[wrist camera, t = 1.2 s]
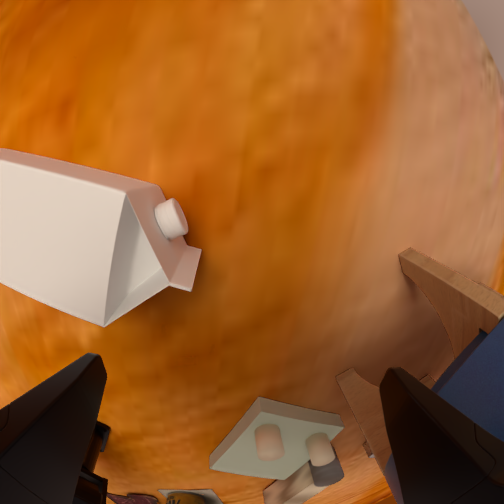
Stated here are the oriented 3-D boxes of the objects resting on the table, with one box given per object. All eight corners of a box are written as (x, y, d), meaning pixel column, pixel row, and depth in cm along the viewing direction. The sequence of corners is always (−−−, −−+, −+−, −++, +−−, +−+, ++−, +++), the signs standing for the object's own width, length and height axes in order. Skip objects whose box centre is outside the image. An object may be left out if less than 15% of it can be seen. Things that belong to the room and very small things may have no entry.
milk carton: (-5, 228, 17) (188, 295, 21) (-58, 249, 10) (176, 351, 14) (6, 148, 16) (216, 200, 19) (-51, 148, 9) (213, 215, 12)
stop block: (385, 445, 30) (391, 456, 28) (362, 444, 29) (368, 457, 27) (399, 432, 30) (406, 443, 27) (377, 431, 29) (384, 443, 26)
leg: (317, 444, 27) (327, 472, 23) (339, 446, 28) (350, 472, 24) (260, 490, 30) (264, 514, 26) (281, 492, 31) (286, 515, 27)
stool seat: (282, 468, 29) (288, 498, 24) (209, 455, 27) (209, 489, 22) (339, 414, 26) (353, 447, 22) (258, 396, 24) (265, 436, 19)
